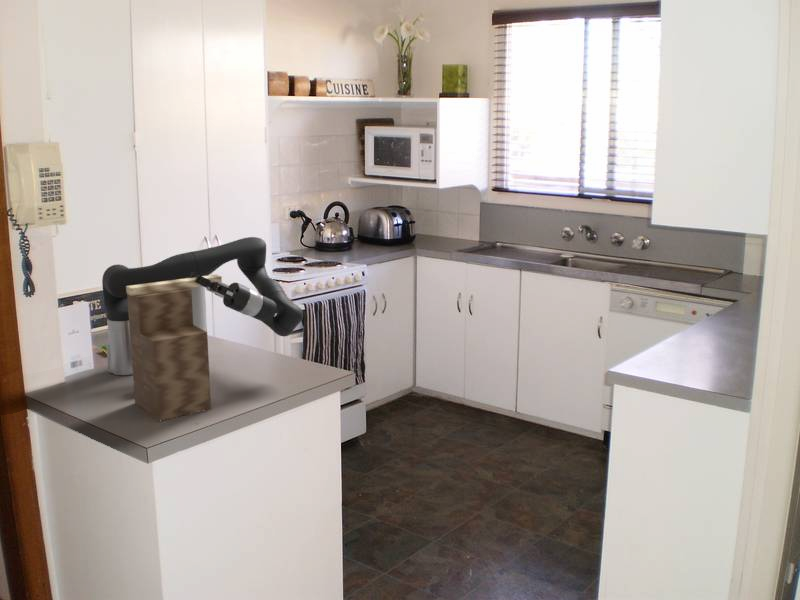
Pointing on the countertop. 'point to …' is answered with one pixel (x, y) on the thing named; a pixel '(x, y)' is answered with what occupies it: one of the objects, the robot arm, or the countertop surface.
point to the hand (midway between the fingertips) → (193, 277)
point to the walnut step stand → (168, 355)
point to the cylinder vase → (199, 307)
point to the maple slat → (168, 285)
